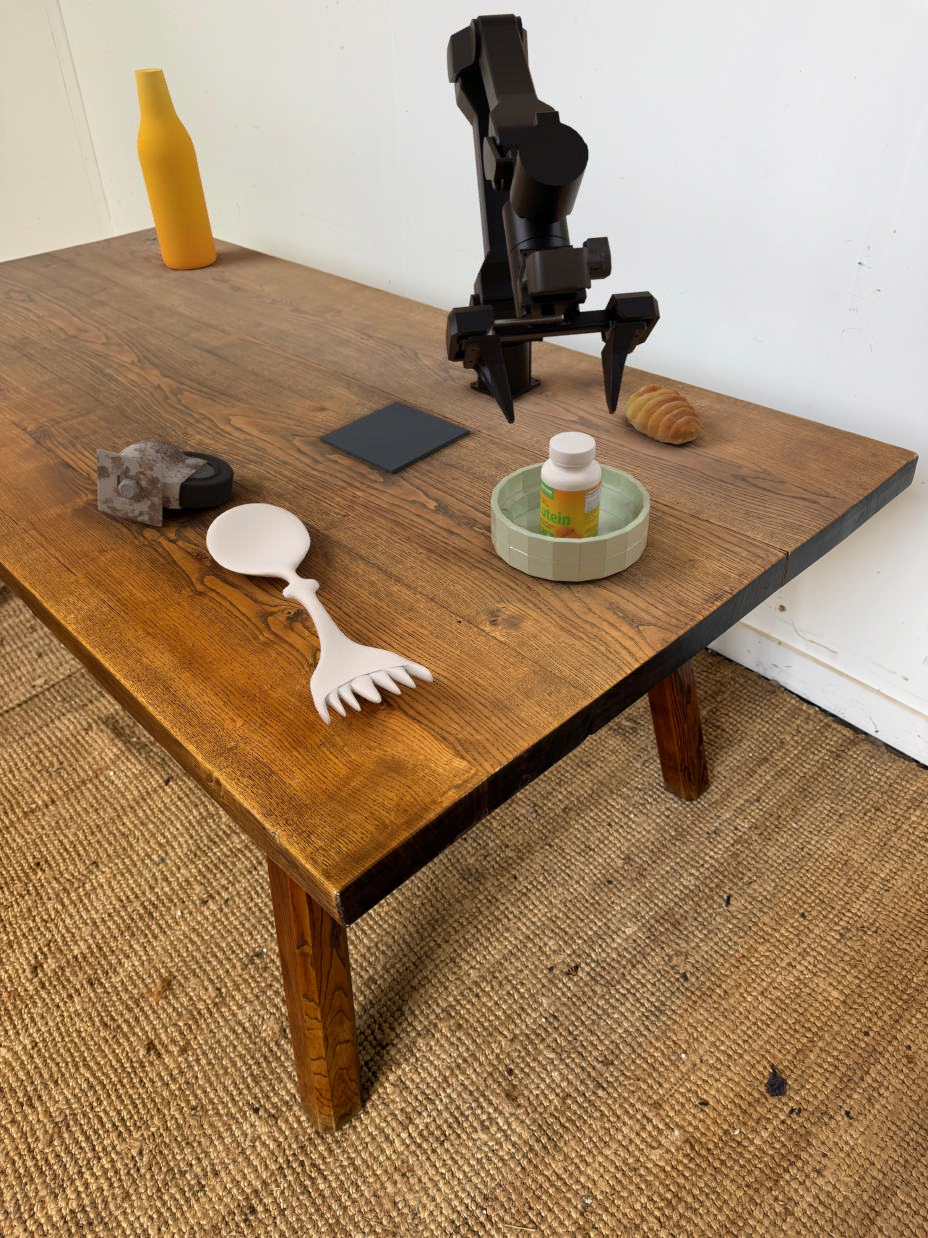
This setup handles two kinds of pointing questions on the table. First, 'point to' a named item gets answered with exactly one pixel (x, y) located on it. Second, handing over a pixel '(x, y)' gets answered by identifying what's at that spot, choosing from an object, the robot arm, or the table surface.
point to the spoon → (307, 605)
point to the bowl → (569, 556)
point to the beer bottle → (172, 177)
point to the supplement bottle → (570, 488)
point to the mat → (394, 436)
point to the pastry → (663, 415)
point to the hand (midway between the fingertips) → (562, 417)
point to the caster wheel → (159, 480)
